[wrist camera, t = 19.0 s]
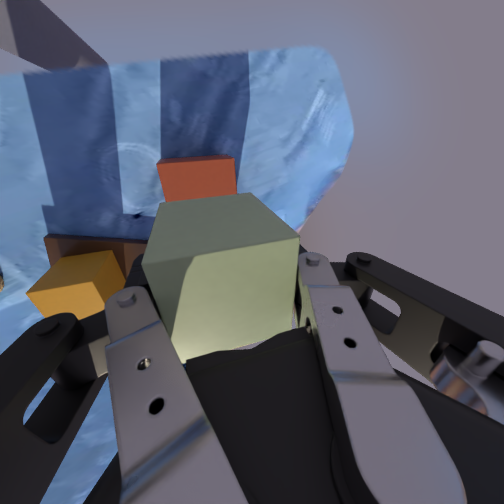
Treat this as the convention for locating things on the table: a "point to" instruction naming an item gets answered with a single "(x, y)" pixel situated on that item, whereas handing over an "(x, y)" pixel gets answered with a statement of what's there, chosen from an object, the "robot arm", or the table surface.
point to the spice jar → (1, 283)
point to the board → (94, 248)
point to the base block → (197, 177)
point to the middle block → (221, 272)
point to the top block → (78, 285)
